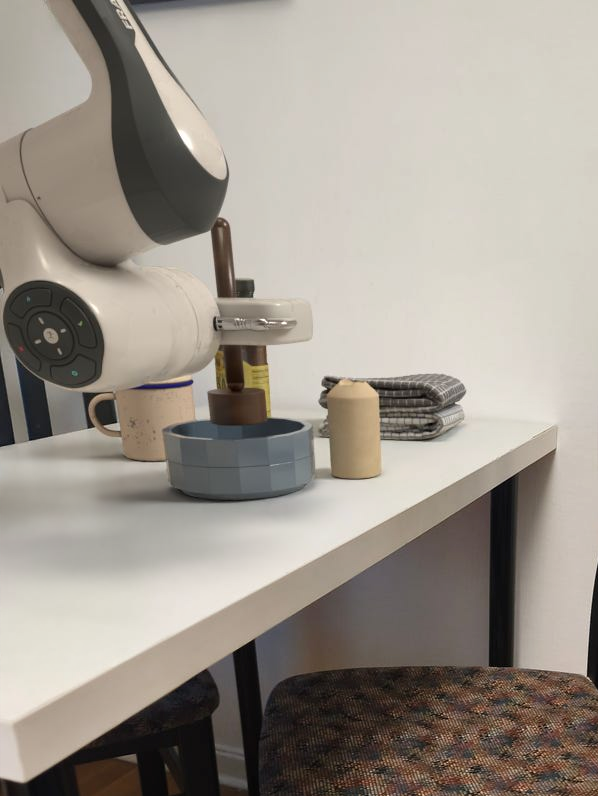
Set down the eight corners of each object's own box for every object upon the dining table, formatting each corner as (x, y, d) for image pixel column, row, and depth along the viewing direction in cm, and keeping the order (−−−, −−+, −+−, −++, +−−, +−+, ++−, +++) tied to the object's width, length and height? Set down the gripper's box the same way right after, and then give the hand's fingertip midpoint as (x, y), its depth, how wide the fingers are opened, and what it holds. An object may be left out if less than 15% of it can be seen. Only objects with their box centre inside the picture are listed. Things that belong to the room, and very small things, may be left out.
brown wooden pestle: (204, 425, 87) (180, 215, 80) (218, 417, 93) (197, 218, 85) (261, 425, 87) (242, 215, 80) (272, 417, 93) (256, 218, 85)
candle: (321, 473, 98) (315, 380, 94) (361, 466, 102) (357, 376, 98) (351, 481, 95) (346, 384, 91) (391, 474, 98) (388, 380, 94)
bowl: (150, 502, 86) (142, 439, 83) (193, 470, 99) (187, 415, 97) (302, 502, 86) (298, 440, 84) (324, 471, 99) (321, 416, 97)
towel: (445, 442, 117) (445, 380, 114) (312, 437, 120) (308, 376, 117) (467, 424, 130) (467, 368, 127) (347, 420, 133) (344, 365, 130)
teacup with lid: (200, 446, 113) (189, 349, 108) (202, 459, 105) (191, 356, 100) (98, 450, 109) (83, 351, 105) (93, 465, 101) (76, 358, 97)
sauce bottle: (213, 448, 111) (195, 277, 104) (258, 443, 115) (244, 277, 107) (238, 456, 107) (221, 278, 99) (284, 450, 111) (271, 278, 103)
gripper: (279, 283, 72) (332, 281, 84) (47, 282, 75) (132, 280, 87) (285, 365, 74) (336, 351, 87) (60, 360, 77) (141, 348, 90)
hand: (232, 316), depth 87 cm, fingers closed on brown wooden pestle
